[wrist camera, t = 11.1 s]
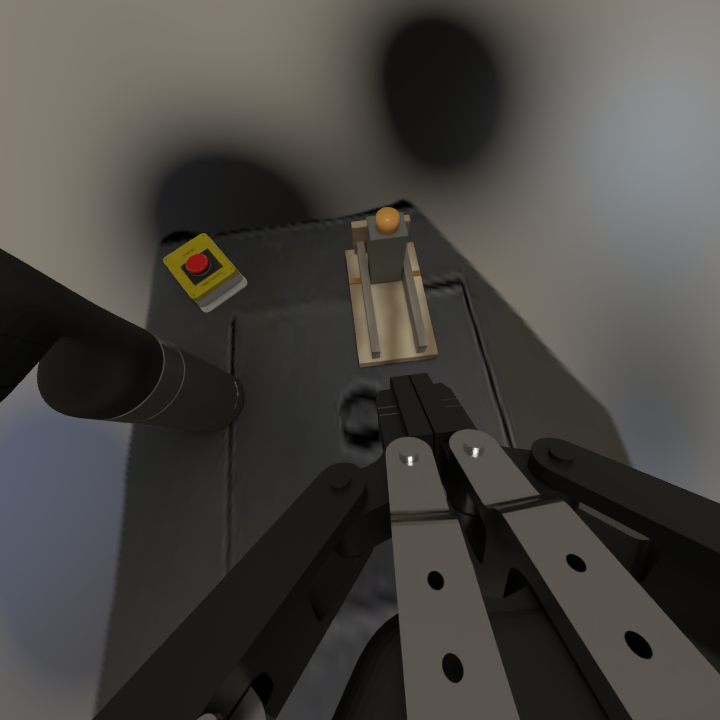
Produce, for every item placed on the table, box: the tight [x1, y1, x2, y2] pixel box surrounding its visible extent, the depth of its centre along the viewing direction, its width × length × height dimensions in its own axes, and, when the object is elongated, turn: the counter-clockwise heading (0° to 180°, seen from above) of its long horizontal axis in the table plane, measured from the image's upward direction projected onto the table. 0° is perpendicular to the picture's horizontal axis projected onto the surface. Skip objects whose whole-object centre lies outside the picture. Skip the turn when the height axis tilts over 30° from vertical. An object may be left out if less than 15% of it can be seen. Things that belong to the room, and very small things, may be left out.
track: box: [345, 215, 438, 367], centre depth 43 cm, size 12×21×8 cm, turn 7°
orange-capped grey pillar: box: [367, 207, 408, 284], centre depth 40 cm, size 5×4×12 cm
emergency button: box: [163, 234, 248, 313], centre depth 48 cm, size 9×4×15 cm
